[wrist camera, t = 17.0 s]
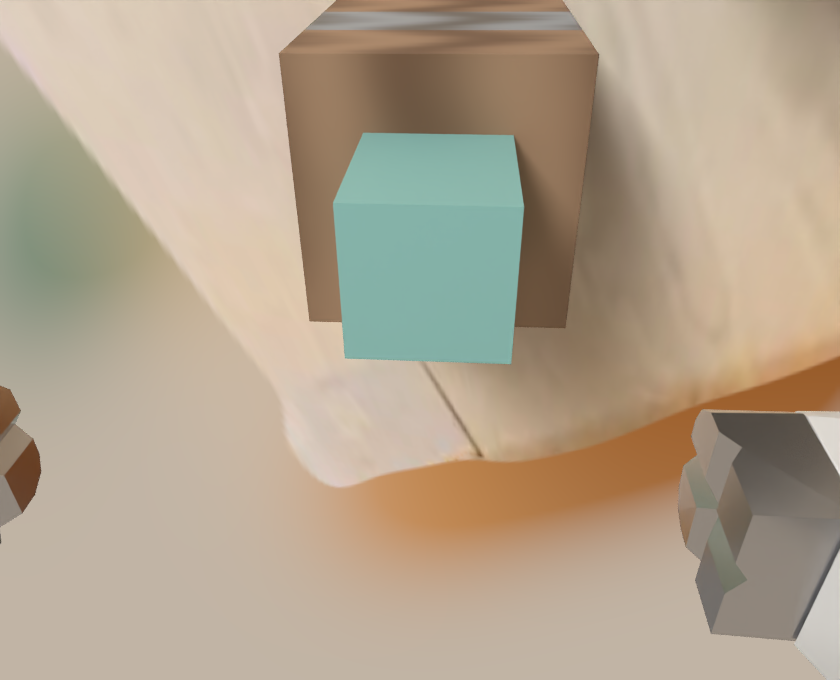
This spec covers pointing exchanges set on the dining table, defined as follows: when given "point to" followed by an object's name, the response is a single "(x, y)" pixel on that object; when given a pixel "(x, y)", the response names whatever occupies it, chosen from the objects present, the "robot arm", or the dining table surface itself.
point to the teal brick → (429, 247)
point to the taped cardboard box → (445, 118)
